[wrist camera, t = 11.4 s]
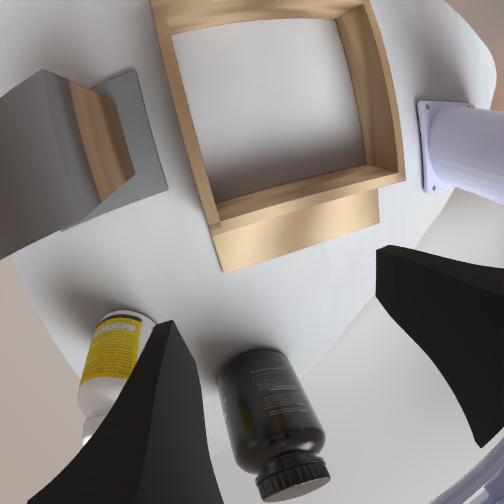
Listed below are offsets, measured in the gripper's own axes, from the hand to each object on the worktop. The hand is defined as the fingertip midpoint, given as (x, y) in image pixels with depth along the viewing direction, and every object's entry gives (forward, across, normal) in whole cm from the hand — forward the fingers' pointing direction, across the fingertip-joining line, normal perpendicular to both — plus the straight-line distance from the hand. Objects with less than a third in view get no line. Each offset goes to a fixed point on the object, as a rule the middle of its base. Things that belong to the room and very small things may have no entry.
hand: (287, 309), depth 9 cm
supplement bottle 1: (+10, +10, +6) cm, 15 cm away
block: (+9, +7, -7) cm, 13 cm away
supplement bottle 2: (+10, +2, +14) cm, 17 cm away
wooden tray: (+9, -4, -7) cm, 13 cm away
